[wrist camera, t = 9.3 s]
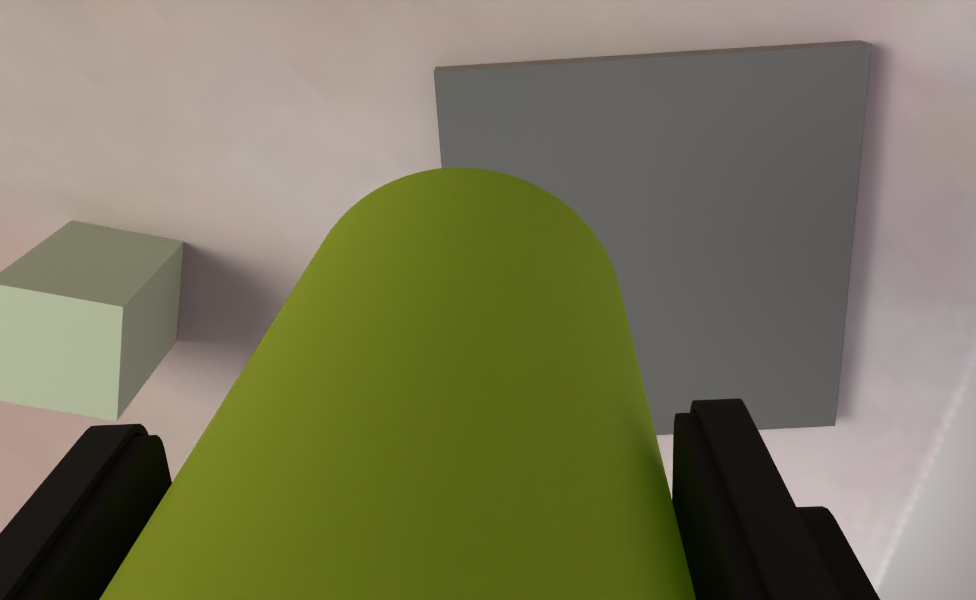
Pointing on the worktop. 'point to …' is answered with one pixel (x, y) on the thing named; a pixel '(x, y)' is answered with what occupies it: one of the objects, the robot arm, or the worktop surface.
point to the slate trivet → (696, 203)
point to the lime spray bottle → (430, 422)
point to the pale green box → (87, 318)
